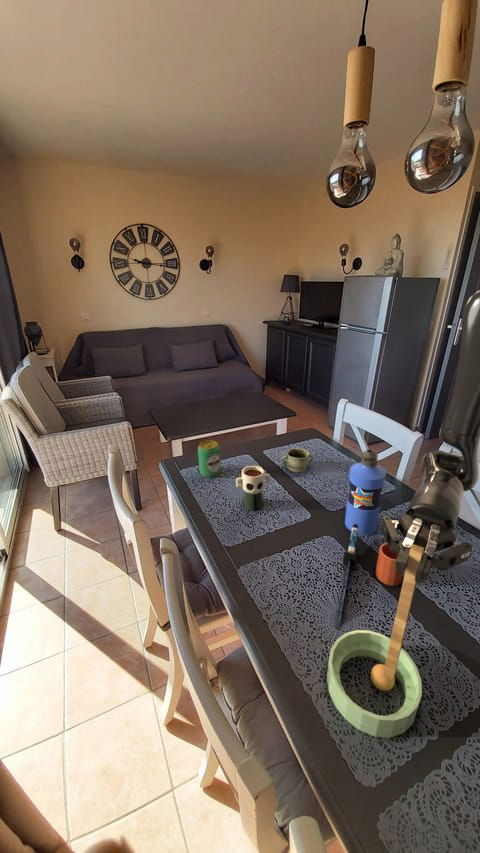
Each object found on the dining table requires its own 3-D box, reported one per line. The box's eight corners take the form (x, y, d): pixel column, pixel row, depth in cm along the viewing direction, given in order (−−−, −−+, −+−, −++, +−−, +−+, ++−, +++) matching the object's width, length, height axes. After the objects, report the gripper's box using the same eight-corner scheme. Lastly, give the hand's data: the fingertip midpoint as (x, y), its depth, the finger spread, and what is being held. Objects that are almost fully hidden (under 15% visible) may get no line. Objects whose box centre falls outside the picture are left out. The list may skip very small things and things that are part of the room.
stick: (385, 668, 60) (412, 543, 53) (395, 673, 59) (424, 547, 52) (382, 675, 59) (410, 548, 52) (392, 681, 58) (422, 553, 51)
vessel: (284, 474, 134) (284, 459, 132) (279, 462, 142) (279, 448, 140) (315, 471, 135) (316, 457, 133) (309, 460, 143) (310, 446, 141)
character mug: (239, 514, 113) (238, 479, 108) (235, 501, 120) (233, 467, 114) (272, 509, 115) (273, 474, 110) (266, 497, 121) (266, 463, 116)
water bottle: (348, 512, 113) (357, 440, 102) (379, 521, 108) (392, 447, 98) (340, 530, 105) (348, 454, 95) (373, 540, 101) (385, 462, 91)
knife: (351, 533, 102) (352, 521, 100) (362, 536, 101) (364, 524, 98) (325, 632, 78) (326, 619, 76) (339, 637, 77) (340, 625, 75)
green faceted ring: (398, 652, 72) (403, 631, 69) (430, 744, 58) (437, 723, 56) (321, 648, 73) (323, 628, 70) (334, 738, 59) (337, 717, 57)
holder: (396, 570, 91) (402, 542, 87) (405, 590, 85) (411, 561, 82) (372, 569, 91) (376, 541, 88) (379, 589, 86) (384, 560, 82)
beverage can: (206, 480, 132) (203, 451, 127) (196, 471, 138) (193, 443, 133) (225, 474, 136) (223, 445, 131) (214, 465, 142) (212, 438, 137)
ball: (363, 670, 65) (373, 660, 68) (372, 695, 64) (382, 684, 67) (382, 669, 63) (392, 659, 66) (392, 695, 62) (402, 684, 64)
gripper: (395, 480, 65) (363, 534, 53) (484, 505, 58) (472, 574, 45) (390, 514, 68) (358, 573, 56) (474, 542, 61) (460, 617, 48)
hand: (409, 573), depth 50 cm, fingers closed on stick, 1 cm apart
